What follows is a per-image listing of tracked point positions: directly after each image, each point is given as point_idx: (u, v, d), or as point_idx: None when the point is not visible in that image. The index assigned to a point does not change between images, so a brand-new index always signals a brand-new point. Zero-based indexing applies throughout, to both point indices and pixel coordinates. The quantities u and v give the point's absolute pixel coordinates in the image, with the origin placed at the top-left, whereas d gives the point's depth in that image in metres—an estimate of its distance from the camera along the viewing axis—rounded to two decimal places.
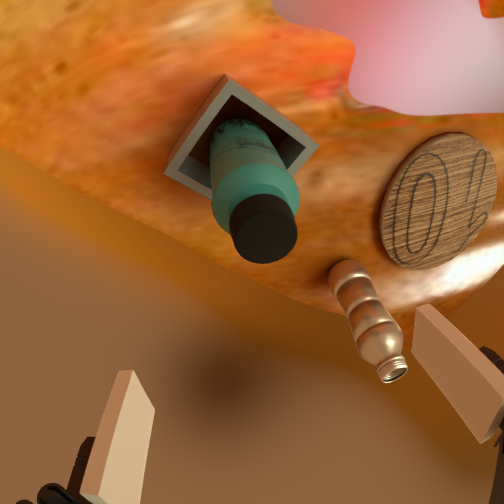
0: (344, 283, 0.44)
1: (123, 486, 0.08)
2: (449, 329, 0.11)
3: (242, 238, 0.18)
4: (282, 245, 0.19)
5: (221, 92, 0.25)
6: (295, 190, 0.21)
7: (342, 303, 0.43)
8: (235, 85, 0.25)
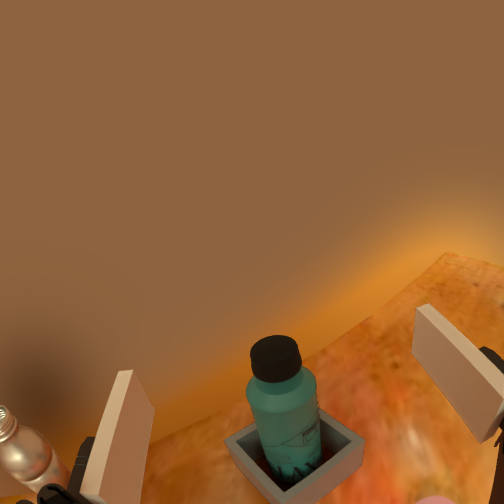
0: None
1: (123, 486, 0.08)
2: (449, 329, 0.11)
3: (281, 337, 0.25)
4: (264, 354, 0.24)
5: (355, 434, 0.28)
6: (284, 407, 0.23)
7: None
8: (359, 443, 0.27)
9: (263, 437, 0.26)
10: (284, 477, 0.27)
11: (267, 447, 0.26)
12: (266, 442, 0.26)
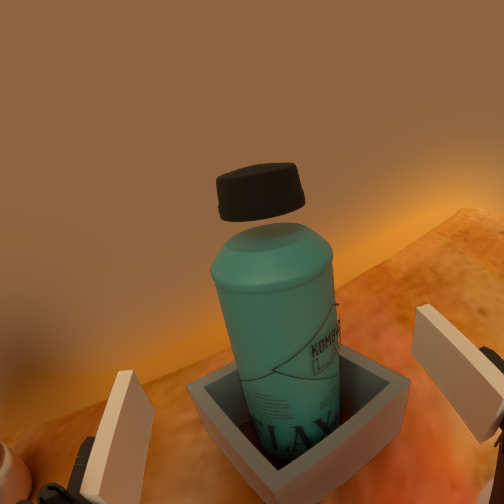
0: (3, 456, 0.15)
1: (123, 486, 0.08)
2: (449, 329, 0.11)
3: None
4: (239, 171, 0.14)
5: (393, 373, 0.18)
6: (275, 274, 0.13)
7: None
8: (402, 386, 0.17)
9: (241, 362, 0.16)
10: (280, 449, 0.17)
11: (249, 385, 0.16)
12: (246, 372, 0.16)
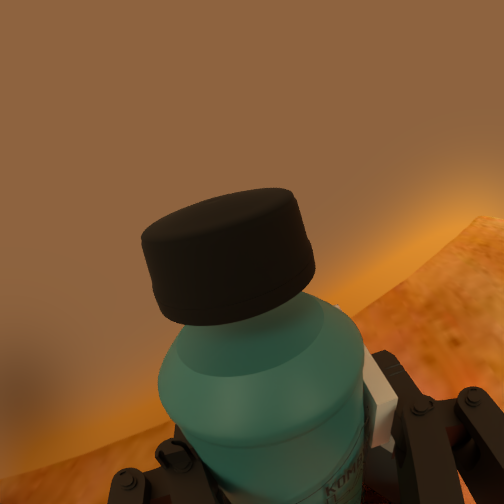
0: None
1: None
2: None
3: None
4: (179, 218, 0.07)
5: None
6: (260, 422, 0.06)
7: None
8: None
9: (223, 490, 0.09)
10: None
11: None
12: (232, 501, 0.09)
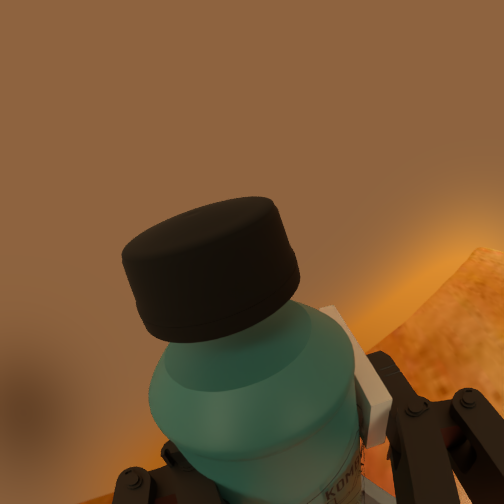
0: None
1: None
2: None
3: (223, 201, 0.08)
4: (159, 234, 0.07)
5: None
6: (254, 435, 0.06)
7: None
8: None
9: None
10: None
11: None
12: None
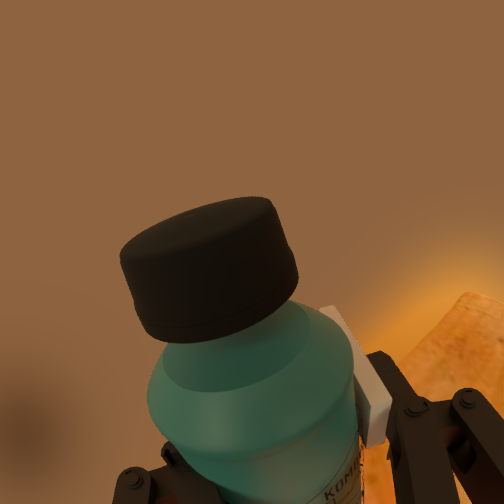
0: None
1: None
2: None
3: (222, 201, 0.08)
4: (156, 234, 0.07)
5: None
6: (252, 435, 0.06)
7: None
8: None
9: None
10: None
11: None
12: None
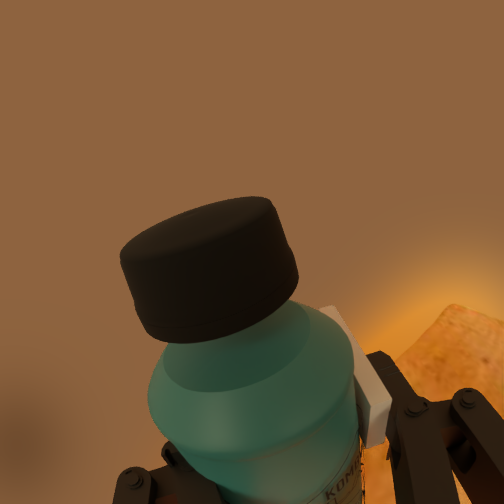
0: None
1: None
2: None
3: (222, 201, 0.08)
4: (156, 235, 0.07)
5: None
6: (253, 435, 0.06)
7: None
8: None
9: None
10: None
11: None
12: None
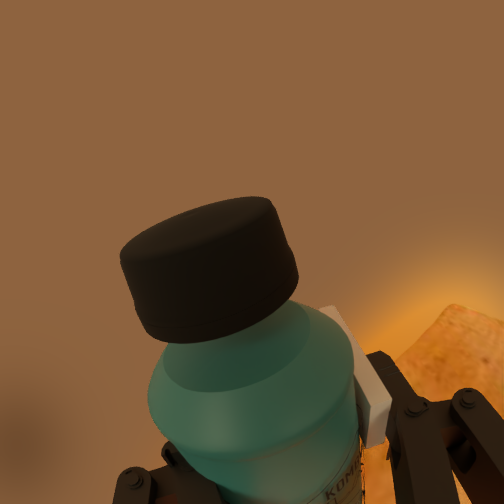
0: None
1: None
2: None
3: (222, 201, 0.08)
4: (156, 235, 0.07)
5: None
6: (253, 435, 0.06)
7: None
8: None
9: None
10: None
11: None
12: None
